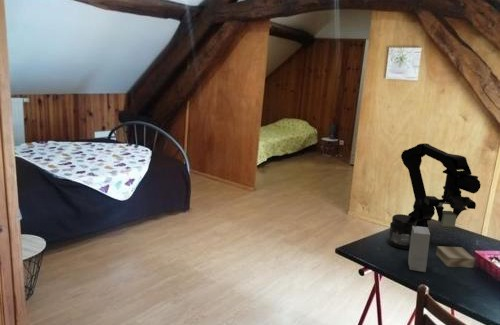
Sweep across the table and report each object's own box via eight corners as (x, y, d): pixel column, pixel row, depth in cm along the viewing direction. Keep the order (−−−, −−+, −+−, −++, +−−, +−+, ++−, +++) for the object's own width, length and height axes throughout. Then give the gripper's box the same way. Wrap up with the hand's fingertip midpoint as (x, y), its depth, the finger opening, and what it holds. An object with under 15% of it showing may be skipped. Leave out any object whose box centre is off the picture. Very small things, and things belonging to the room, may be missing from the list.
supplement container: (399, 237, 176) (403, 212, 173) (419, 247, 167) (423, 220, 164) (382, 241, 171) (385, 215, 169) (401, 252, 162) (405, 224, 160)
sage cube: (442, 225, 166) (444, 214, 164) (437, 221, 170) (439, 210, 169) (454, 226, 165) (456, 215, 164) (449, 222, 170) (451, 211, 169)
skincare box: (425, 272, 146) (431, 235, 143) (408, 269, 148) (413, 232, 144) (423, 262, 154) (429, 226, 150) (406, 259, 156) (412, 224, 152)
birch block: (447, 267, 152) (448, 257, 151) (435, 255, 162) (437, 246, 161) (473, 268, 152) (475, 258, 151) (460, 256, 162) (461, 247, 161)
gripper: (437, 190, 157) (431, 227, 160) (485, 193, 156) (478, 230, 159) (426, 182, 167) (421, 217, 171) (472, 185, 166) (465, 220, 170)
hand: (446, 221), depth 168 cm, fingers closed on sage cube, 5 cm apart
